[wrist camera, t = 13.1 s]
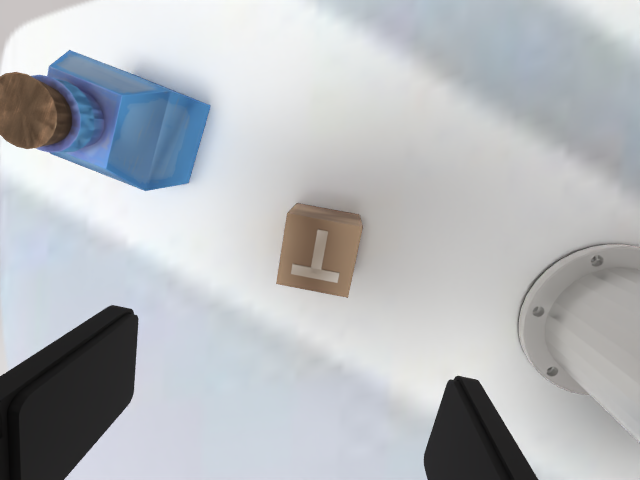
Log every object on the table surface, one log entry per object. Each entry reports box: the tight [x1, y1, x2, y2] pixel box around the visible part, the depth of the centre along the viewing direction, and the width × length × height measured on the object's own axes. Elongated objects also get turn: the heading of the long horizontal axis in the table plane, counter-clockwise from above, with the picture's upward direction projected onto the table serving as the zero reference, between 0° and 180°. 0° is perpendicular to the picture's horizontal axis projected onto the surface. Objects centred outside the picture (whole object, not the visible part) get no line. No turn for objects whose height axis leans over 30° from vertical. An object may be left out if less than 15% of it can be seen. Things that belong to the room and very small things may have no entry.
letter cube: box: [276, 203, 363, 298], centre depth 26 cm, size 5×5×5 cm
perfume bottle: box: [0, 50, 210, 191], centre depth 21 cm, size 6×6×12 cm
